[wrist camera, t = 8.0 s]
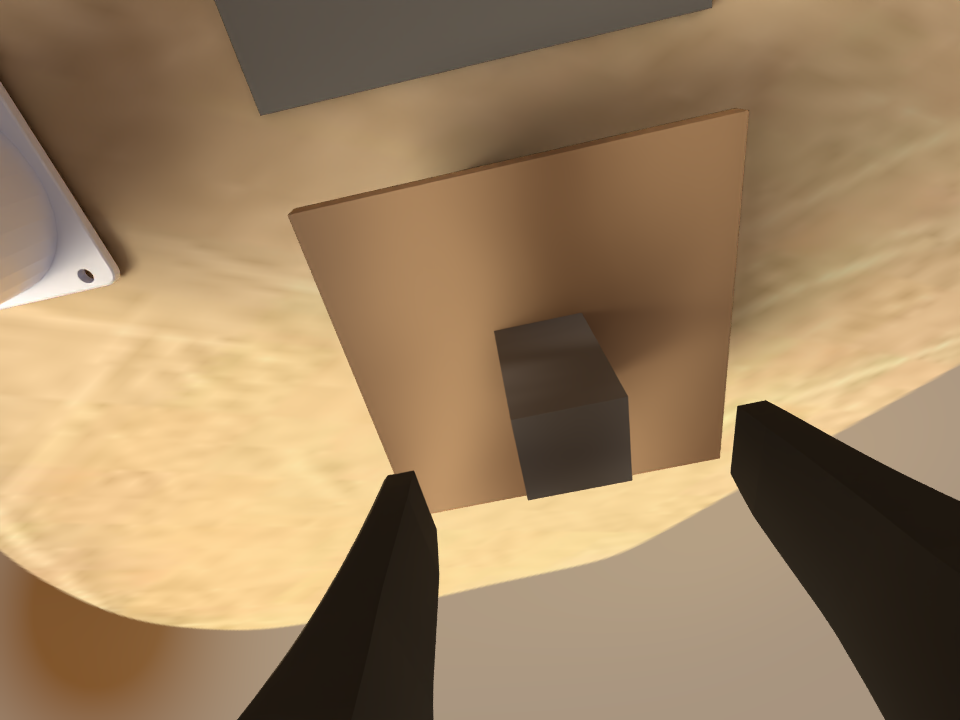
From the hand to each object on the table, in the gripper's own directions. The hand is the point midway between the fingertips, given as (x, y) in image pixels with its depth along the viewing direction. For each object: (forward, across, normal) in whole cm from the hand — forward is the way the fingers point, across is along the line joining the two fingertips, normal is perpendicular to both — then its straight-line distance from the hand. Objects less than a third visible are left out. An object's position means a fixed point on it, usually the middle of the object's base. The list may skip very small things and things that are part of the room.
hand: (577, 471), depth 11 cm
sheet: (+5, 0, 0) cm, 5 cm away
